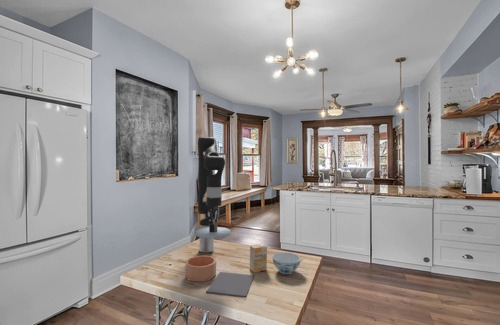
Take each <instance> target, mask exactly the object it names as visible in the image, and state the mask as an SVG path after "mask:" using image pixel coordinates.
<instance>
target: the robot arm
mask: <svg viewBox="0 0 500 325" xmlns="http://www.w3.org/2000/svg"><path fill="white" fill-rule="evenodd" d="M217 146H218V145H217V139H216V138H215V137H213V136H200V137H198V139H197V153H198V156H197V157H198V173H197V174H198V175H197V178H198V179H197V180H198V182H197V183H198V195H197V196H198V199H197V212H198V214H199V215H206V217H203V218H202V219H200V220H199V229H202V228H207V227H209V231H210V232H214V222H215V221H217V222H218V223H219V221H220V216H221V208H219V207H221V206H222V195H223V194H222V193H223V192H222V191H223V190H222V179H223V178H222V177H223V172H224V169H225V167H226V166H225V165H226V160H225V158H224V157H223V156H222V155H221V156H220V154H219V153H218V147H217ZM214 171H216V173H215V174H214ZM205 195H206V196H205ZM204 197H205V198H206V199H204ZM209 224H210V226H209ZM214 241H215V238H201V237H199V245H198V246H199V250H198V251H199V252H200V253H203V254H204V253H205V254H207V253H212V252H213V251H215V250H214V246H215V245H214V243H215V242H214Z"/></svg>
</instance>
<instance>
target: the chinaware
mask: <svg viewBox="0 0 500 325" xmlns="http://www.w3.org/2000/svg"><path fill="white" fill-rule="evenodd" d="M301 260H302V259H301V257H300V255H298V254H296V253H293V252H287V251H286V252H285V251H283V252H276V253H274V254H272V262H273V265H274V266H275V268H276V269H277V270H278V271H279V273H280V274H282V273H284V274H283V275H285V274H289V275H292V274H293V273H292V272H295V271H296V270H297V269H298V268H299V266H300V264H301V262H302V261H301ZM291 273H292V274H291Z"/></svg>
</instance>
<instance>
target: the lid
mask: <svg viewBox="0 0 500 325" xmlns="http://www.w3.org/2000/svg"><path fill="white" fill-rule="evenodd" d="M218 223H219V221H218V222H217V221H215V222H214V232H210V231H209V227H207V228H202V229H200V228H199V229H197V230H196V231H195V236H197V237H198V238H200V237H201V238H214V239H220V238H221V239H222V238H226V237H229V236H230V235H231V229H229V228H227V227H222V226H218ZM209 226H210V224H209Z"/></svg>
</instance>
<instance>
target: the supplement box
mask: <svg viewBox="0 0 500 325" xmlns="http://www.w3.org/2000/svg"><path fill="white" fill-rule="evenodd" d="M267 258H268V246H267V245H266V244H264V243H261V244H255V245H254V244H253V245H250V246H249V270H250V271H251V272H252V273H258V272H259V273H260V272H261V271H262V272H263V271H267V270H268V269H267V267H268V266H267V263H268V262H267V260H268V259H267Z"/></svg>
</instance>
